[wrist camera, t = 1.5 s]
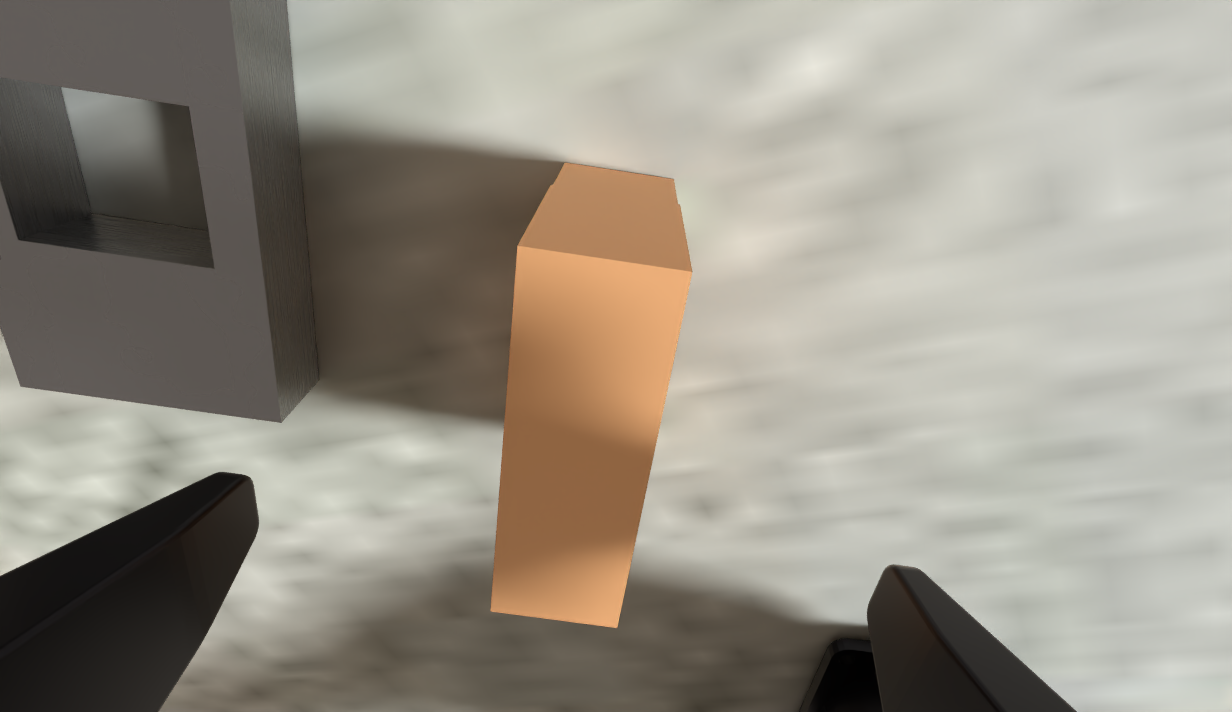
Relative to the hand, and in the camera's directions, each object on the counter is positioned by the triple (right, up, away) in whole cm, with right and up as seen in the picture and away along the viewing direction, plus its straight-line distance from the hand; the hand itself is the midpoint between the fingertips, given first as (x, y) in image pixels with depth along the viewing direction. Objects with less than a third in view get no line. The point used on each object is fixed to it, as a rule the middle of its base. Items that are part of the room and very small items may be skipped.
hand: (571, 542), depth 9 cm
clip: (0, +4, +7) cm, 8 cm away
